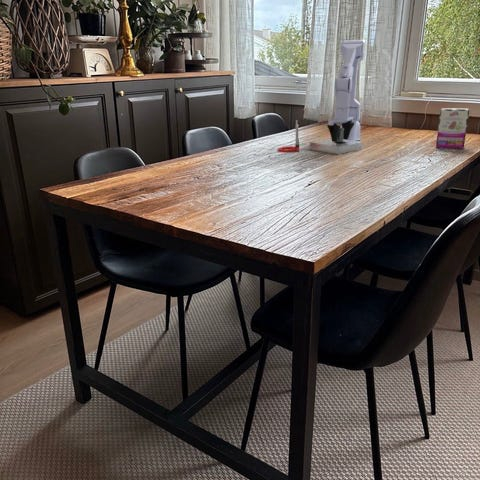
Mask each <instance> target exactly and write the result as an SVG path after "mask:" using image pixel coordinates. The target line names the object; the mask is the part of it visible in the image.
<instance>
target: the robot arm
mask: <svg viewBox="0 0 480 480" xmlns="http://www.w3.org/2000/svg"><path fill="white" fill-rule="evenodd" d="M365 51H366V41H365V39H354V40H353V39H352V40H350V39H349V40H348V39H347V40H345V39H344V40H342V41H341V45H340V54H341V58H342V59H343V64H342V65H341V66H340V67H339V72H338V76H337V79H335V81H334V97H335V100H334V101H335V103H334V117H333V118H332V119H329V120H328V121H327V124H326V125H327V126H326V127H327V129H328V131H329V133H330V138H331V139H332V142H337V138H338V132H339V129H340V128H344V138H343V139H345V140H353V141H360V140H362V138H361V123H360V122H359V120H361V111H362V109H361V107H362V105H361V103H360V102H359V101H358V100H357V99H356V95H357V80H358V71H359V70H358V69H359V65H360V62H361V61H363V60H364V57H365ZM339 124H340V125H339Z"/></svg>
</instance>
